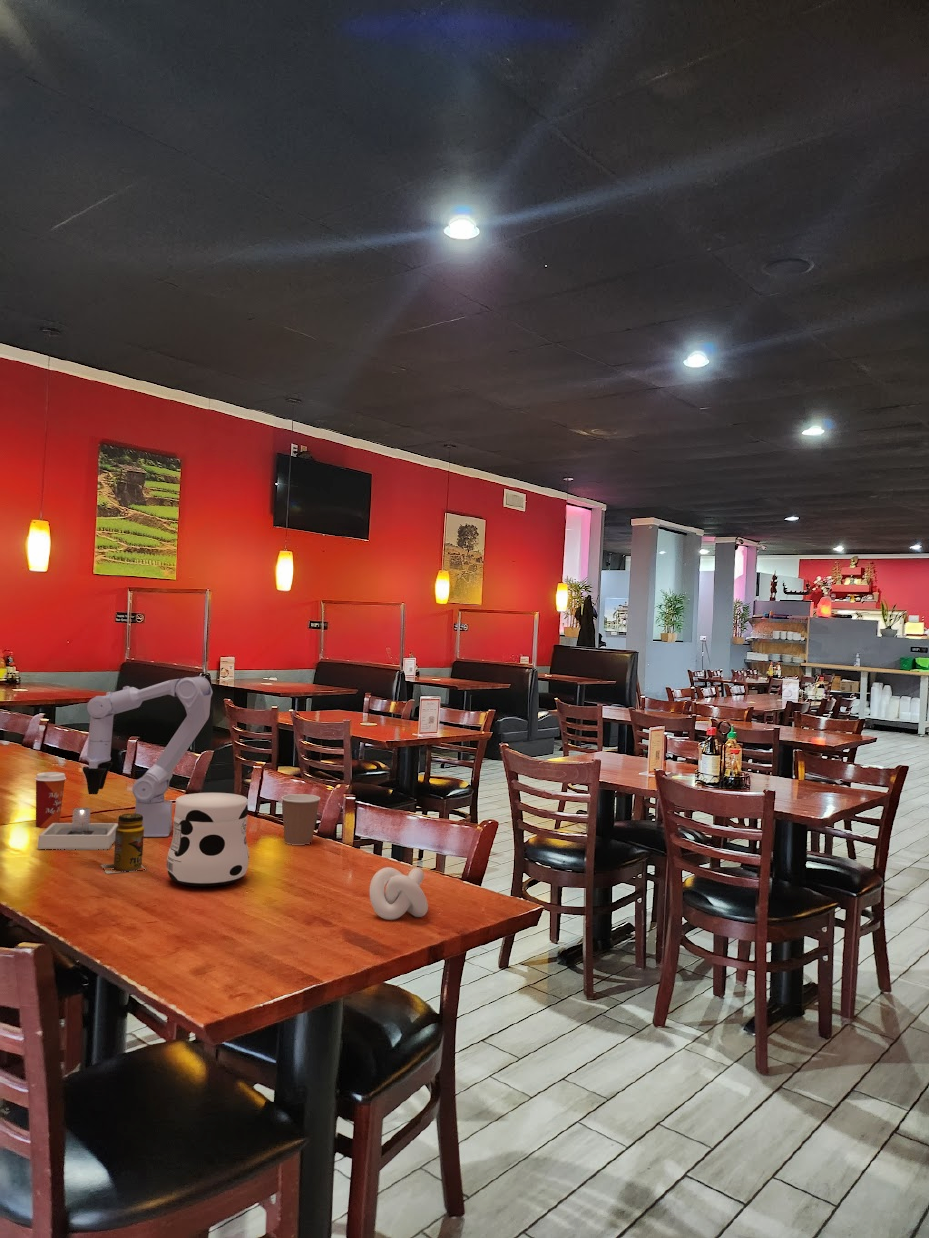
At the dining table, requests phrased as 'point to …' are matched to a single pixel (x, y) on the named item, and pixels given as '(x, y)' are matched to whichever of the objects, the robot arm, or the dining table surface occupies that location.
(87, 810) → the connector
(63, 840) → the box
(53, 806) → the paper cup
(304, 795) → the coffee cup
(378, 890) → the white knot sculpture
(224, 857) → the milk container
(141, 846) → the condiment
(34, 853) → the dining table surface
